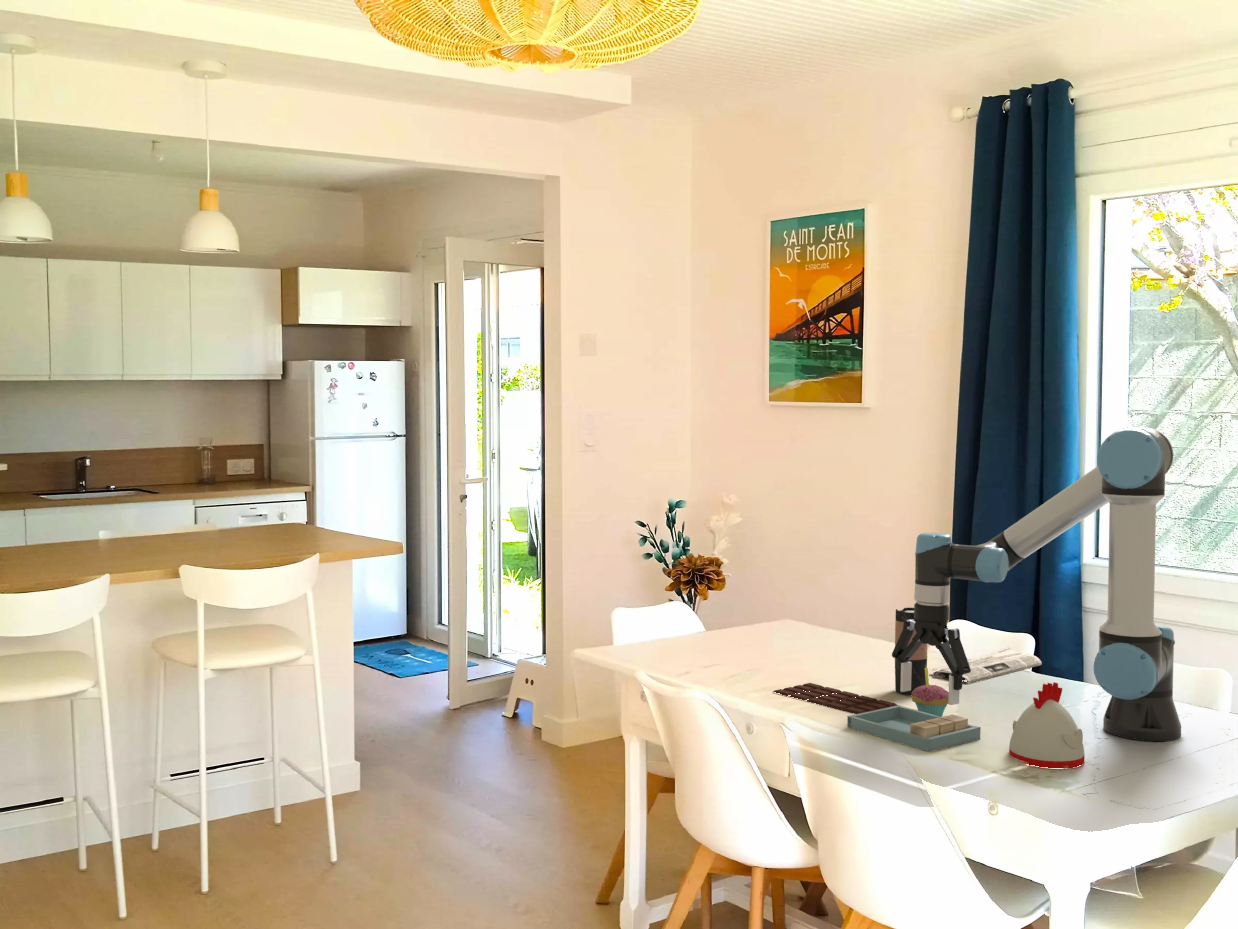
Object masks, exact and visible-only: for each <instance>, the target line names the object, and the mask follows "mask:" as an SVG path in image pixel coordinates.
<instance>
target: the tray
mask: <svg viewBox="0 0 1238 929" xmlns="http://www.w3.org/2000/svg"><path fill="white" fill-rule="evenodd" d="M897 705H898V704H897ZM935 718H940V716H937V715H933V714H929V713H926V712H922V711H918V709H915V708H911V707H906V706H903V705H898V706H893V707H888V708H884V709H879V710H874V711H869V712H865V713H860V714H851V715H847V718H846V719H847V724H846V725H847V726H846V727H847V728H848V729H851V730H855V731H858V732H862V733H865V734H868V735H871V736H874V737H878V738H880V739H884V740H888V741H889V742H894V743H898V744H901V745H904V746H907V747H911V748H913V749H916V750H917V749H918V750H920V751H923V752H927V753H930V752H934V751H938V750H941V749H946V748H950V747H953V746H957V745H962V744H966V743H969V742H973V741H978V740H981V727H980V726H978V725H973V724H969V723H968V728H967V729H963V730H959V731H955V732H950V733H946V734H942V735H938V736H934V737H930V738H927V737H923V736H920V735H916V734H913V733H910V724H913V723H917V722H922V721H926V720H931V719H935Z"/></svg>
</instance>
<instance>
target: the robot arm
mask: <svg viewBox="0 0 1238 929" xmlns="http://www.w3.org/2000/svg"><path fill="white" fill-rule="evenodd" d="M1173 461H1174V448H1173V447H1172V444H1171V441H1170V440H1169V439H1168V438H1167V436H1166V435H1164V433H1162V432H1160V431H1159V430H1156V429H1154V428H1152V427H1143V426H1142V427H1124V428H1121V429H1118V430H1116V431H1114V432H1113V433H1112V434H1110V435H1109V436H1108V437H1106V438H1105V439H1104V440H1103V441H1102V443H1101V444H1100V447H1099V449H1098V452H1097V456H1096V463H1097V466H1095V468H1093V469H1091V470H1090V471H1089V472H1087V473H1086V474H1084V475H1083V476H1082V477H1080V478H1078V479H1077V480H1075V481H1074V482H1073V483H1071V484H1070V485H1068V486H1067V487H1066V488H1064V489H1063V490H1061V491H1060V492H1058V493H1057V494H1055V495H1053V497H1051V498H1049V499H1048V500H1047V501H1045V502H1044V503H1043V504H1040V506H1038V507H1036V508H1035V509H1034V510H1032V511H1031V512H1029V513H1028V514H1027V515H1025V516H1023V517H1022V518H1020V519H1019V520H1017V522H1015V523H1013V524H1012V525H1010V526H1009V527H1008V528H1007V529H1005V530H1003V531H1002V532H1000V533H999V534H997V535H996V536H994V537H992V538H991V539H990V540H988V541H987V542H986V541H985V542H984V543H981V544H977V545H970V544H969V545H968V544H958V543H953V541H952V536H951V535H950V534H948V533H943V532H921V533H920V534H918V536H917V537H916V545H915V553H914V555H915V559H914V560H915V564H914V565H915V566H914V567H915V571H914V572H915V574H914V576H915V579H914V597H913V600H914V601H916V602H915V603H914V604H913V605H914V607H913V608H914V618H915V619H916V622H915V620H914V619H910V620H905V621H904V625H903V630H902V633H901V635H900V637H899V639H898V641H897V644H896V646H895V645H894V648H893V651H892V652H891V657H892V658H893V659H895V658H896V659H898V661H899V675H900V676H901V686H900V691H901V692H905V691H910V690H911V671H912V662H907V661H909V659H910V658H911V657H912V655H913V654H914V653H915V652H916V650H917V649H918V648H919V647H920V646H921V644H922V643H923V644H927V645H929V646H932V647H935V648H936V649H937V650H938V651H939V653H940V655H941V656H942V658H943V659H944V661H945V663H946V666H948V667H949V668H950V670H951V672H952V674H951V675H949V676H948V692H949V697H948V704H947V705H948V706H953V705H958V704H960V690H962V689H963V682H962V679H963V677H962V676H963V674H967V673H970V672H971V669H970V666H969V663H968V661H969V660H968V658H967V655H966V652H965V649H964V647H963V642H962V640H961V633H960V632H961V631H960V629H959V628H948V622H949V619H950V606H949V604H948V603H949V602H950V592H951V591H950V588H951V586H950V585H951V579H955V580H956V579H959V580H967V581H968V580H969V581H977V582H984V583H987V584H988V583H1002V582H1003V581H1004V580H1005V579H1006V577H1007V574H1008V572H1009V571H1010V570H1013V568H1014V567H1015V566H1016V565H1017V564H1018V563H1020V562H1022V561H1023V560H1024V559H1026V558H1027V557H1029V556H1030V555H1031V554H1034V553H1035V552H1037V550H1039V549H1040V548H1043V547H1044V546H1045V545H1047V544H1049V543H1050V542H1051V541H1052V540H1055V539H1056V538H1057V537H1059V536H1060V535H1061V534H1063V533H1065V532H1067V531H1068V530H1069V529H1072V527H1074V526H1075V525H1077V524H1078V523H1080V522H1081V521H1083V520H1084V519H1087V518H1088V517H1089V516H1091V515H1092V514H1093V513H1095V512H1096V511H1097V510H1099V509H1101V508H1102V507H1103V506H1106V505H1107V504H1109V513H1108V514H1109V520H1108V521H1109V522H1108V523H1109V524H1108V526H1109V528H1108V570H1107V572H1108V575H1107V576H1108V578H1107V580H1108V581H1107V582H1108V583H1107V584H1108V585H1107V619H1106V621H1105V622H1104V623H1102V625H1100V626H1099V629H1098V630H1099V631H1098V632H1099V634H1098V652H1097V653H1096V656H1095V658H1094V661H1093V666H1092V667H1093V669H1092V670H1093V674H1094V678H1095V680H1096V682H1097V683H1098V685H1099V687H1101V688H1102V690H1104V692H1105V693H1108V694H1109V695H1110V696H1111V697H1110V699H1109V702H1108V706H1107V707H1106V710H1105V713H1104V715H1103V723H1102V724H1103V728H1102V729H1103V730H1104V731H1105V732H1107V733H1109V734H1112V735H1114V736H1118V737H1121V738H1125V739H1128V740H1129V739H1130V740H1137V741H1144V742H1145V741H1146V742H1149V741H1150V742H1168V741H1169V742H1170V741H1174V740H1177V739H1180V738H1181V737H1182V723H1181V721H1180V718H1179V714H1178V710H1177V709H1176V705H1175V701H1174V697H1173V693H1174V692H1173V691H1174V689H1173V688H1174V656H1175V654H1174V653H1175V651H1174V650H1175V647H1174V646H1175V644H1176V640H1175V636H1174V630H1173V629H1172V628H1171V627H1169V626H1163V625H1156V624H1155V622H1154V621H1155V619H1154V618H1155V617H1154V616H1155V577H1156V576H1155V573H1156V572H1155V570H1156V533H1157V532H1156V526H1157V524H1156V523H1157V520H1156V519H1157V504H1159V502H1161V500H1162V499H1163V498H1164V497H1165V494H1166V492H1165V489H1166V474H1167V473H1168V472H1169V470H1170V469H1171V466H1172V464H1173ZM914 629H915V630H916V632H917V633H916V635H915V636H914V637H913V638H912V641H911V642H910V644H909V645H908V643H909V641H910V639H911V636H912V634H913V632H914ZM907 645H908V646H907Z"/></svg>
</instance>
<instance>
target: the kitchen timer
mask: <svg viewBox="0 0 1238 929" xmlns="http://www.w3.org/2000/svg"><path fill="white" fill-rule="evenodd" d="M1041 689H1042V690H1040V689H1039V690H1037V697H1032V699H1033V702H1032V703H1031V704H1029V706H1028V707H1027V708H1025V710H1024V711H1022V713H1021V714H1020V716H1019V717H1018V719H1017V720H1013V722H1012V731H1013V732H1012V733H1011V737H1010V739H1009V746H1008V748H1009V749H1008V751H1009V752H1008V753H1009V756H1011V757H1012V758H1013V759H1016V760H1018V761H1020V762H1023V763H1024V762H1025V763H1026V764H1029V765H1035V766H1039V767H1048V768H1073V767H1077V766H1079V765H1082V764H1083V763H1084V764H1085V755H1086V754H1085V748H1084V747H1085V746H1084V743H1083V742H1084V741H1083V739H1084V738H1083V736H1084V735H1083V730H1082V729H1081V728H1079V727H1078V726H1077V723H1076V721H1075V720H1074V718H1073V717H1072V715H1071V713H1070V712H1069V711H1068V710H1067V709H1066V708H1065V707H1064V706H1063V705H1062V704H1061V703H1059V702H1060V700H1061V696H1062V693H1063V688H1062V687H1059V683H1058V682H1053V683H1051V682H1047V683H1042V688H1041ZM1084 764H1083V765H1084ZM1073 769H1074V768H1073Z"/></svg>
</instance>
